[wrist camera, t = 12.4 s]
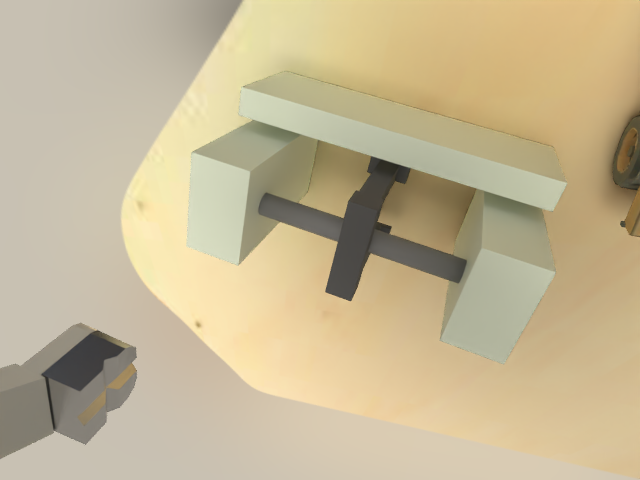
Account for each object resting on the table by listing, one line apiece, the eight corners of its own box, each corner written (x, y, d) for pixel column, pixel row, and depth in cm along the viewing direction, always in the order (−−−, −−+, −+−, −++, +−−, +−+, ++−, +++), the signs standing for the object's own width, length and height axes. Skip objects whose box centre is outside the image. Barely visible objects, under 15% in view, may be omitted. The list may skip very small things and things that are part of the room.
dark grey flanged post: (411, 164, 34) (387, 213, 27) (387, 241, 38) (359, 304, 30) (373, 153, 35) (338, 197, 27) (352, 229, 38) (316, 288, 31)
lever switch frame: (553, 147, 35) (583, 224, 23) (500, 255, 40) (503, 364, 28) (285, 71, 39) (194, 104, 27) (268, 179, 44) (186, 246, 32)
